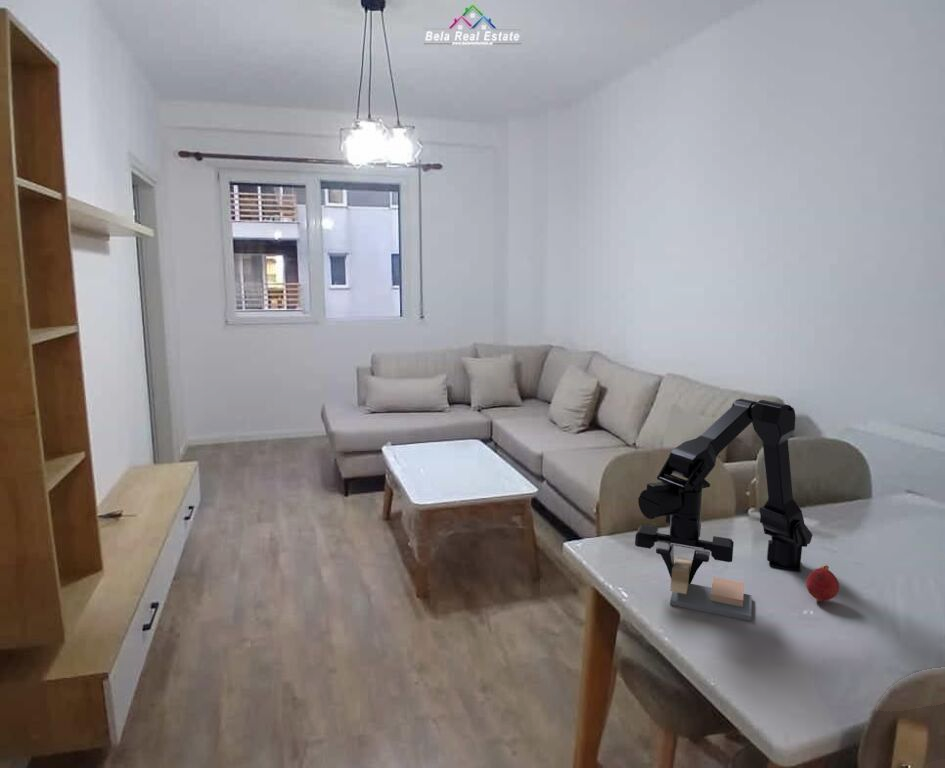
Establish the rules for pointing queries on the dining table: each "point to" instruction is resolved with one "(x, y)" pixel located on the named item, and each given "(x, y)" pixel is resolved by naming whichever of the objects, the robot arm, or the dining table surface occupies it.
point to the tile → (727, 592)
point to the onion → (822, 584)
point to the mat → (710, 603)
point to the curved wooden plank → (680, 575)
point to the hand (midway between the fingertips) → (681, 581)
